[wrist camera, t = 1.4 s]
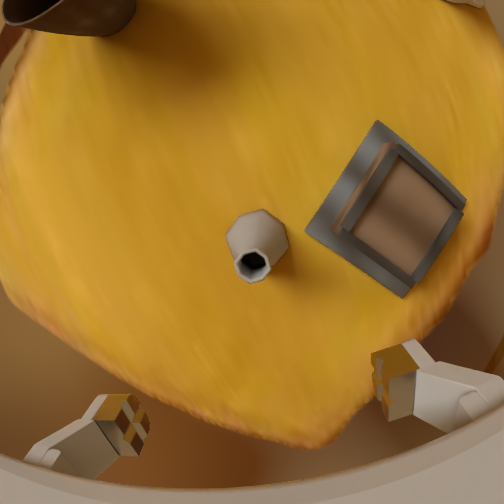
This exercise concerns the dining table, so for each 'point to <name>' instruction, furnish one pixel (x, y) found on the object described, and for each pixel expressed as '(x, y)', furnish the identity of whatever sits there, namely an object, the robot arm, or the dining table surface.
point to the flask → (256, 244)
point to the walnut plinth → (389, 211)
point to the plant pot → (70, 15)
